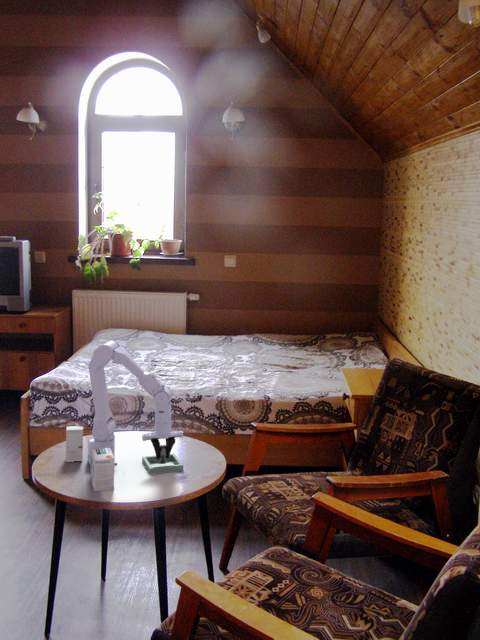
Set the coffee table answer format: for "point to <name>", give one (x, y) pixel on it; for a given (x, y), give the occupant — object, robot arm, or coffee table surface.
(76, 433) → the skincare box
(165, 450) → the cell
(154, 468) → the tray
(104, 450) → the light bulb box
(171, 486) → the coffee table surface
